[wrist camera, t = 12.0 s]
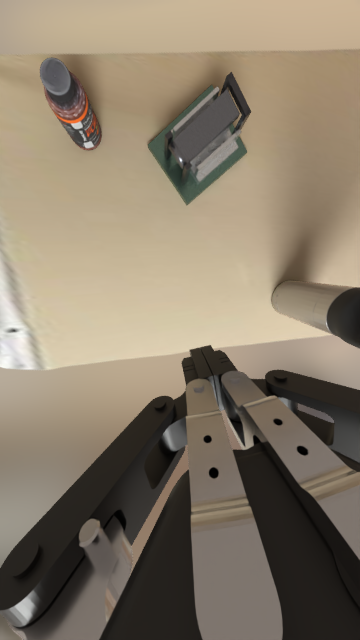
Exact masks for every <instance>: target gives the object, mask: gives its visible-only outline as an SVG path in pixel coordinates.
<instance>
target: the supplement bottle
mask: <svg viewBox="0 0 360 640" xmlns="http://www.w3.org/2000/svg"><path fill="white" fill-rule="evenodd" d="M40 77H41V80H42V83H43V85H44V91H45V96H46V99H47V101H48V104H49V105H50V107H51V109H52V110H53V112H54V113H55V115H56V116H57V118H58V119H59V121H60V122H61V124H62V125H63V126H64V128H65V129H66V131H67V132H68V134H69V135H70V137H71V138H72V140H73V141H74V142H75V143H76V144H77V145H78V146H79V147H80V148H82V149H84V150H93V149H95V148H96V147H97V146H98V145H99V143H100V141H101V129H100V126H99V123H98V121H97V118H96V116H95V114H94V111H93V109H92V107H91V104H90V102H89V100H88V97H87V95H86V92H85V91H84V88H83V86H82V84H81V83H80V81H79V80H78V78H77V77H76V76H75V75H74V74H72V73H71V72H70V71H68V69H67V67H66V66H65V65H64V63H62V62H61V61H60V60H58V59H56V58H47V59H45V60H44V61H43V62H42V64H41V67H40Z"/></svg>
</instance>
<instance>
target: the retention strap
mask: <svg viewBox="0 0 360 640" xmlns="http://www.w3.org/2000/svg"><path fill="white" fill-rule="evenodd" d="M238 116H239V112H238V110H237V108H236V106H235V104H234V102H233V100H232V98H231V96H230V94H229V92H228V90H227V89H226V90H225V91H224V92H223V93H222V94H221V95H220V96H219V97H218V98H217V99H216V100H215V101H214V102H213V103H212V104H211V105H210V106H209V107H208V108H207V109H206V110H205V111H203V112H202V113H201V114H200V115H199V116H198V117H197V118H196V119H195V120H194V121H193V122H192V123H191V124H190V125H189V126H188V127H187V128H186V129H185V130H184V131H183V132H182V133H181V134H180V135H179V136H178V137H176V138H175V139H174V140H173V141H172V142H171V143H170V144H169V146H168V148H169V150H170V151H171V153H172V154H173V156H174V157H175V159H176V161H177V162H178V164H179V165H180V167H181V168H182V169H184V165H186V164H187V163H188V162H189V161H190V162H191V161H192V160H193V159H194V158H195V157H196V156H197V155H198V154H199V153H200V152H202V151H203V150H204V149H205V148H206V147H207V146H208V145H209V144H210V143H211V142H212V141H213V140H215V139H216V138H217V137H218V136H219V135H220V134H221V133H222V132H223V131H224V130H225V129H226V128H227V127H229V126H230V125H231V124H232V123H233V122H234V121H235V120H236V119H237V118H238Z"/></svg>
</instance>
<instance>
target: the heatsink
mask: <svg viewBox="0 0 360 640" xmlns="http://www.w3.org/2000/svg"><path fill="white" fill-rule="evenodd" d="M226 89H227V90H228V92H229V90H230V92H231V94H232V96H233V98H234V100H235V102H236V104H237V106H238V108H239V110H240V112H241V114H242V116H241V118H240V120H239V122H238V124H237V125H236V127H235V128H234V126H233V124H231V125H230V126H229V127H227V128H226V129H225V130H224V131H223V132H222V133H221V134H220V135H219V136H218V137H217V138H216V139H215V140H213V141H212V142H211V143H210V144H209V145H208V146H207V147H206V148H205V149H204V150H203V151H202V152H200V153H199V154H198V155H197V156H196V157H195V158H194V159H193V160H192V161H191V162H190V161H189V162H188V163H187V164H186V165H184V169H182V168H181V167H180V165H179V164H178V162H177V161H176V159H175V157H174V156H173V154H172V153H171V151H170V150H169V148H168V146H169V144H170V143H171V142H172V141H173V140H174V139H175V138H176V137H178V136H179V135H180V134H181V133H182V132H183V131H184V130H185V129H186V128H187V127H188V126H189V125H190V124H191V123H192V122H193V121H194V120H195V119H196V118H197V117H198V116H199V115H200V114H201V113H202V112H203V111H205V110H206V109H207V108H208V107H209V106H210V105H211V104H212V103H213V102H214V101H215V100H216V99H217V98H218V93H219V88H218V86H217V87H216V88H215V89H214V88H213V86H212V85H211V86H210V87H209V88H208V89H207V90H206V91H205V92H203V93H202V94H201V95H200V96H199V97H198V98H197V99H196V100H195V101H194V102H193V103H192V104H191V105H190V106H189V107H188V108H187V109H185V110H184V111H183V112H182V113H181V114H180V115H179V116H178V117H177V118H176V119H175V120H174V121H173V122H172V123H171V124H170V125H168V126H167V127H166V128H165V129H164V130H163V131H162V132H161V133H160V134H159V135H158V136H157V137H156V138H155V139H154V140H153V141H152V142H150V143H149V144H148V148H149V150H150V151H151V153H152V154H153V156H154V157H155V159H156V160H157V162H158V163H159V165H160V166H161V168H162V169H163V171H164V172H165V174H166V175H167V177H168V178H169V179H170V181H171V182H172V184H173V185H174V187H175V188H176V190H177V191H178V193H179V194H180V196H181V197H182V199H183V200H184V202H185V203H186V205H188V204H189V203H190V202H192V201H193V200H194V199H195V198H196V197H197V196H198V195H200V194H201V193H202V192H203V191H204V190H205V189H206V188H208V187H209V186H210V185H211V184H212V183H213V182H214V181H216V180H217V179H218V178H219V177H220V176H221V175H223V174H224V173H225V172H226V171H227V170H228V169H229V168H231V167H232V166H233V165H234V164H235V163H236V162H237V161H239V160H240V159H241V158H242V157H243V156H244V155H245V154H246V153H247V150H246V149H245V147H244V145H243V143H242V141H241V139H240V137H239V135H240V134H241V129H242V127H243V125H244V123H245V122H246V120H247V118H248V117H249V115H250V113H251V110H250V108H249V106H248V104H247V102H246V100H245V98H244V96H243V94H242V92H241V90H240V88H239V86H238V84H237V82H236V80H235V78H234V76H233V74H232V72H231V73H230V74H229V75H227V76H226V79H225V82H224V85H223V88H222V91H221V94H222V93H223V92H224V91H225V90H226ZM221 94H220V95H221Z"/></svg>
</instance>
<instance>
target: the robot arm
mask: <svg viewBox="0 0 360 640" xmlns="http://www.w3.org/2000/svg"><path fill="white" fill-rule="evenodd" d="M272 305H273V308H274V309H275V310H276V311H277V312H278V313H280V314H283V315H285V316H288V317H290V318H293V319H295V320H298V321H300V322H303V323H305V324H308V325H310V326H313V327H315V328H318V329H320V330H323V331H325V332H328V333H330V334H333V335H336V336H338V337H340V338H341V339H342V340H344V341H345V342H347V343H349V344H351V345H353V346H355V347H358V348H360V288H357V287H348V286H338V285H329V284H320V283H311V282H303V281H294V280H289V281H285V282H283V283H281V284H280V285H279V286H278V287H277V288H276V289H275V291H274V293H273V296H272ZM190 355H191V357H188V358H184V359H183V361H182V367H183V372H184V376H185V381H186V391H185V392H184V393H183V395H181V396H180V397H178V398H177V399H175V400H173V399H172V398H171V397H169V396H160V397H157V398H155V399H153V400H152V401H151V402H150V403H149V404H148V405H147V406H146V407H145V408H144V409H143V410H142V411H141V412H140V413H139V415H138V416H137V417H136V418H135V419H134V420H133V421H132V422H131V423H130V424H129V425H128V426H127V427H126V429H124V431H123V432H122V433H121V434H120V435H119V436H118V437H117V438H116V439H115V440H114V441H113V442H112V443H111V445H110V446H109V447H108V448H107V449H106V450H105V451H104V452H103V453H102V454H101V455H100V456H99V457H98V458H97V459H96V460H95V462H94V463H93V464H92V465H91V466H90V467H89V468H88V469H87V470H86V471H85V472H84V474H82V476H81V477H80V478H79V479H78V480H77V481H76V482H75V483H74V484H73V485H72V486H71V487H70V488H69V489H68V490H67V491H66V493H65V494H64V495H63V496H62V497H61V498H60V499H59V500H58V501H57V502H56V503H55V504H54V506H53V507H52V508H51V509H50V510H49V511H48V512H47V513H46V514H45V515H44V516H43V517H42V518H41V519H40V520H39V522H37V524H36V525H35V526H34V527H33V528H32V529H31V530H30V531H29V532H28V533H27V534H26V535H25V536H24V537H23V539H22V540H21V541H20V542H19V543H18V544H17V545H16V546H15V548H14V549H13V550H12V551H11V552H10V554H9V555H8V557H7V558H6V560H5V561H4V563H3V565H2V567H1V568H0V614H2V616H4V618H6V619H7V621H8V624H9V626H10V628H11V629H12V630H13V631H14V632H15V633H16V634H17V635H18V636H19V637H20V638H21V639H23V640H360V390H357V389H353V388H349V387H346V386H342V385H338V384H334V383H330V382H327V381H323V380H318V379H315V378H311V377H307V376H304V375H300V374H296V373H292V372H288V371H284V370H272V371H269V372H268V373H267V374H266V375H265V379H250V378H249V377H248V376H247V375H246V374H244V373H243V372H239V371H238V370H237V369H236V368H235V366H234V365H233V363H232V362H231V361H230V359H229V358H228V357H227V355H226V354H225V353H224V352H222V351H220V350H218V351H214V350H213V348H212V347H211V345H209V346H204V347H200V348H196V349H191V350H190ZM298 403H299V404H302V405H305V406H307V407H310V408H313V409H316V410H319V411H321V412H325V413H326V414H328V415H329V416H331V418H332V419H333V420H334V423H331V422H328V421H325V420H323V419H320V418H317V417H315V416H312V415H309V414H307V413H305V412H302V411H299V410H298ZM218 407H219V408H218ZM221 410H225V411H226V414H227V420H228V423H229V425H230V427H231V429H232V431H233V433H234V434H235V437H236V438H237V440H238V442H239V444H240V446H241V448H242V450H232V447H231V444H230V440H229V437H228V434H227V430H226V427H225V424H224V420H223V417H222V414H221ZM187 444H188V460H189V470H188V471H186V473H184V474H183V475H182V476H181V478H180V479H179V480H178V482H177V483H176V485H175V486H174V488H173V489H172V491H171V493H170V495H169V497H168V499H167V501H166V503H165V506H164V508H163V510H162V512H161V514H160V516H159V518H158V520H157V522H156V524H155V526H154V528H153V530H152V532H151V534H150V536H149V539H148V540H147V543H146V545H145V547H144V549H143V551H142V553H141V555H140V557H139V559H138V561H137V563H136V565H135V567H134V569H133V571H132V573H131V576H130V572H131V568H132V561H133V553H132V547H131V546H132V544H133V542H134V540H135V538H136V537H137V535H138V533H139V531H140V530H141V528H142V526H143V524H144V522H145V521H146V519H147V517H148V515H149V514H150V512H151V510H152V508H153V506H154V505H155V503H156V501H157V499H158V498H159V496H160V494H161V492H162V490H163V488H164V487H165V485H166V483H167V482H168V480H169V478H170V476H171V474H172V473H173V471H174V469H175V467H176V466H177V464H178V462H179V460H180V458H181V457H182V455H183V453H184V451H185V445H187ZM129 576H130V577H129Z"/></svg>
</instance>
